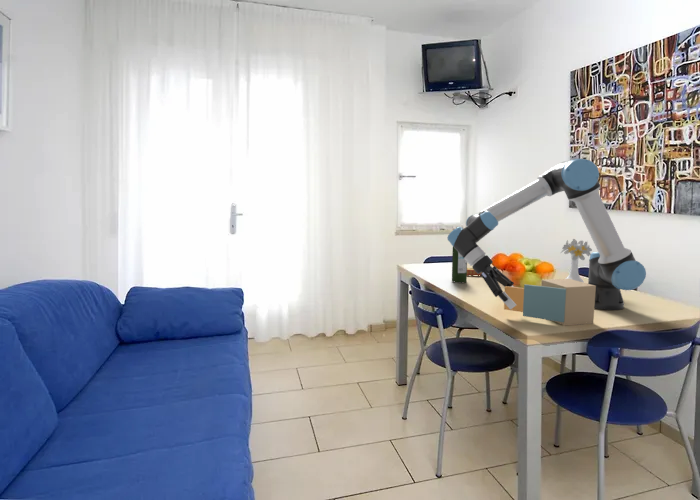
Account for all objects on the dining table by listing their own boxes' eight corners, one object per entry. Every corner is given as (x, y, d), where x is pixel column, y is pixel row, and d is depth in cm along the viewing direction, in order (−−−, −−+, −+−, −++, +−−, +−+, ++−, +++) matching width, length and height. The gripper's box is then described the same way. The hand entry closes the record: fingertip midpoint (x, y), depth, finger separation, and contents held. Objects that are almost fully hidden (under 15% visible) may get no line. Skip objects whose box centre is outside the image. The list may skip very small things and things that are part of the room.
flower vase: (566, 294, 201) (569, 241, 198) (554, 286, 219) (557, 238, 216) (596, 295, 199) (599, 242, 196) (581, 286, 217) (584, 238, 214)
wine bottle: (459, 279, 238) (460, 226, 234) (469, 282, 231) (471, 227, 227) (448, 281, 234) (449, 226, 230) (459, 283, 227) (460, 227, 223)
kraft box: (566, 313, 169) (568, 278, 167) (593, 323, 155) (595, 285, 153) (539, 314, 166) (541, 279, 165) (564, 325, 153) (566, 287, 151)
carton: (463, 274, 257) (464, 267, 256) (491, 275, 254) (491, 268, 253) (464, 276, 249) (464, 269, 248) (493, 277, 245) (493, 270, 245)
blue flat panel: (504, 312, 165) (505, 282, 163) (564, 321, 152) (566, 288, 151) (503, 313, 164) (505, 282, 162) (563, 322, 152) (565, 289, 150)
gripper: (481, 262, 179) (517, 302, 172) (461, 271, 159) (501, 317, 152) (494, 251, 175) (532, 291, 169) (475, 258, 155) (517, 304, 148)
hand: (517, 303), depth 160 cm, fingers open, 12 cm apart
